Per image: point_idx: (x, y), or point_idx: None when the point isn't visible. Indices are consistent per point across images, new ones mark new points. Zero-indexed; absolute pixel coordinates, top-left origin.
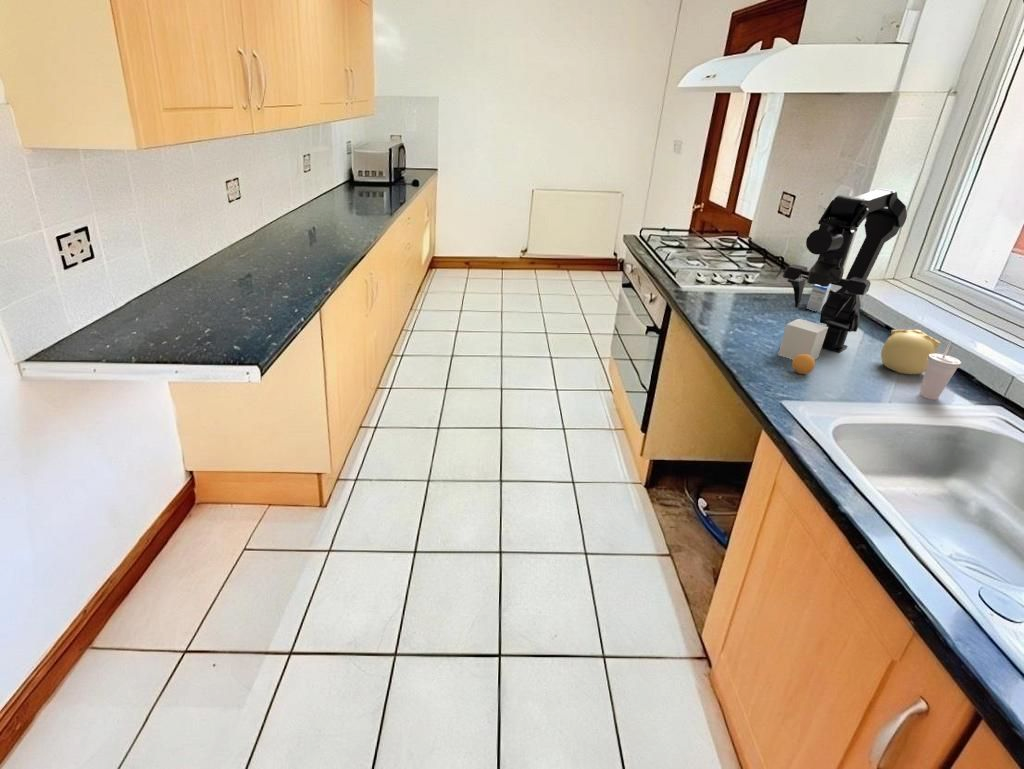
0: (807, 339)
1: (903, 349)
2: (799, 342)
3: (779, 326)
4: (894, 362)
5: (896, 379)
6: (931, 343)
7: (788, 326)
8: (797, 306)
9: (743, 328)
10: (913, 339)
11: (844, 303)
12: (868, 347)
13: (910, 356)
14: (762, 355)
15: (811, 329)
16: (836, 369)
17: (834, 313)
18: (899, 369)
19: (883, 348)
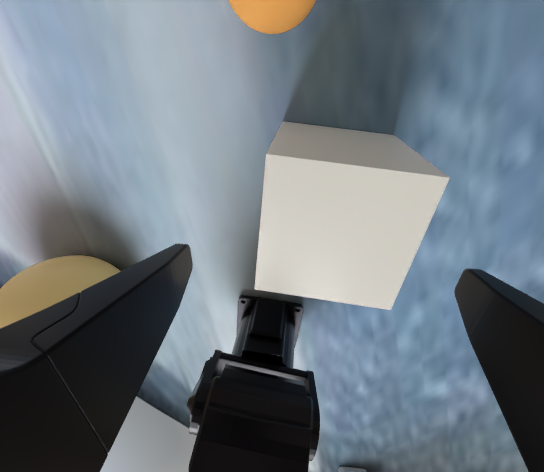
0: (307, 146)
1: (37, 294)
2: (337, 143)
3: (412, 370)
4: (80, 264)
5: (73, 215)
6: None
7: (431, 171)
8: (467, 278)
9: None
10: None
11: (35, 313)
12: None
13: (24, 278)
14: (455, 74)
15: (306, 191)
16: (199, 161)
17: (174, 254)
18: (77, 256)
19: None
